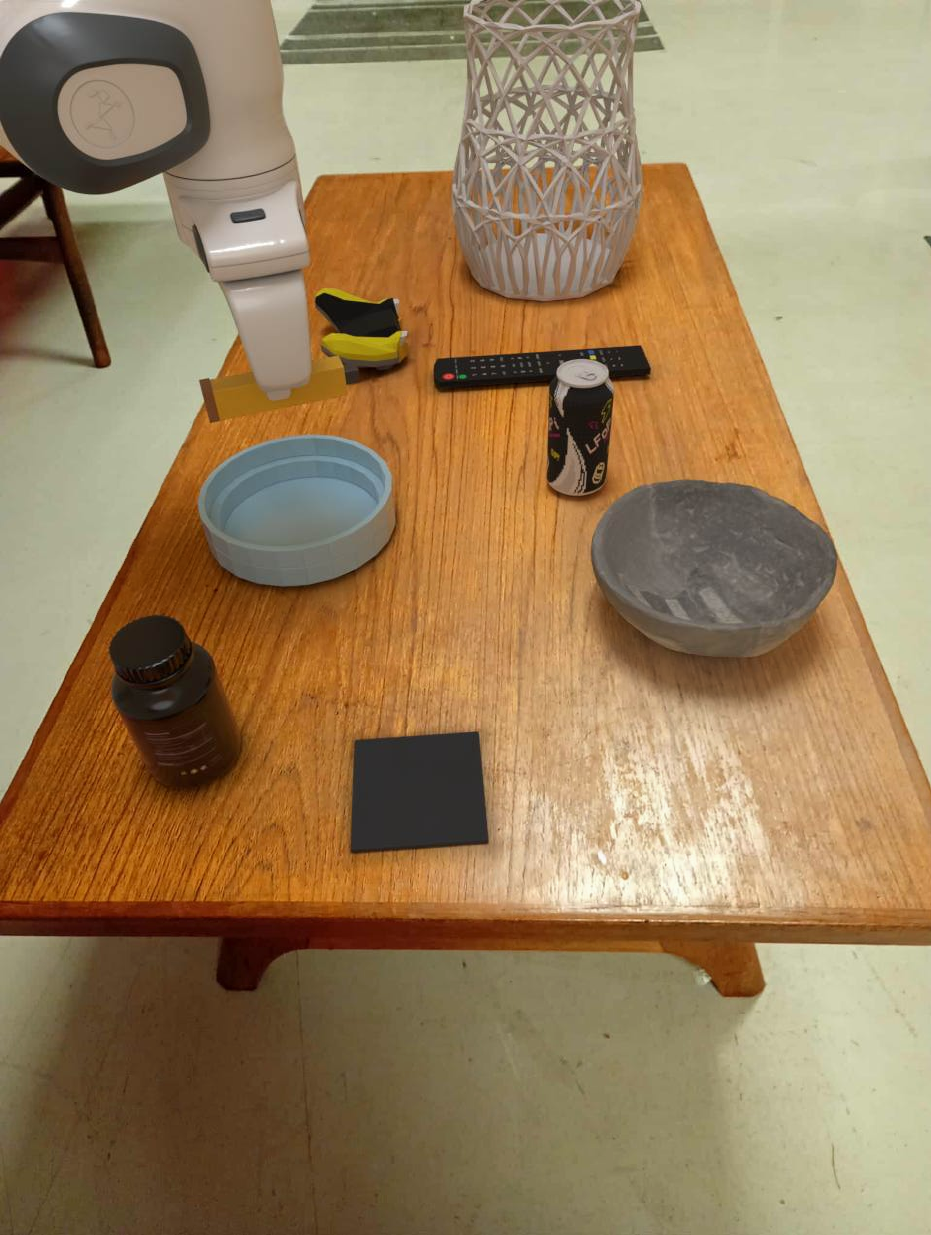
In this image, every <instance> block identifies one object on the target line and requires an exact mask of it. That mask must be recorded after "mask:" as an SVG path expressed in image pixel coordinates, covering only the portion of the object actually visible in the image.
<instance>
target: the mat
mask: <svg viewBox="0 0 931 1235" xmlns="http://www.w3.org/2000/svg"><path fill="white" fill-rule="evenodd" d="M353 747H354V748H353V768H352V769H353V770H352V795H351V796H352V798H351V799H352V800H351V826H350V854H357V853H358V854H359V853H371V852H383V851H384V852H385V851H399V850H412V849H427V848H441V847H454V846H466V845H467V846H468V845H481V844H482V845H483V844H489V834H488V822H487V810H486V809H487V808H486V799H485V798H486V797H485V788H484V777H483V766H482V755H481V754H482V753H481V743H480V732H479V731H477V730H476V731H464V732H463V731H462V732H449V733H435V734H433V733H432V734H421V735H420V734H419V735H406V736H404V735H403V736H393V737H392V736H391V737H380V738H379V737H377V738H364V739H354V744H353Z"/></svg>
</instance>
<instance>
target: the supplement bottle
mask: <svg viewBox="0 0 931 1235" xmlns="http://www.w3.org/2000/svg"><path fill="white" fill-rule="evenodd" d="M108 656H109V658H110V661H111V663H112V665H113V669H114V674H113V676H112V679H111V684H110V696H111V699H112V702H113V705H114V707H115V709H116V711H117V713H118V714H119V717H120V718H121V720H122V722H123V724H124V726H125V728H126V730H127V732H128V734H129V736H130V738H131V740H132V742H133V744H134V746H135V748H136V749H137V752H138V753H139V755H140V757H141V759H142V761H143V763H144V765H145V767H146V768H147V770H148V772H149V774H150V775H151V776H152V777H153V778H154V780H156V781H157V782H158V783H160V784H161V785H163V786H165V787H168V788H172V789H177V790H178V789H179V790H189V789H196V788H201V787H205V786H207V785H209V784H211V783H213V782H214V781H216V780H218V779H219V778H221V777H222V776H223V775H225V773H227V772H228V771H229V770H230V769H231V768H232V766H233V765H234V764H235V762H236V759H237V758H238V757H239V754H240V751H241V745H242V737H241V732H240V729H239V726H238V722H237V719H236V717H235V714H234V711H233V709H232V706H231V703H230V700H229V698H228V695H227V692H226V689H225V687H224V684H223V682H222V678H221V676H220V673H219V670H218V668H217V665H216V662H215V660H214V658H213V657H212V656H211V654H210V653H209V651H208V650H207V649H206V648H204V647H203V646H202V645H200V644H198V643H196V642H194V641H192V640H191V638H190V637H189V636H188V632H187V631H186V629H185V627H184V625H183V624H182V623H181V622H180V621H179V620H177V619H176V618H175V617H171V616H169V615H165V614H153V615H150V614H148V615H145V616H140V617H138V618H136V619H132V621H130V622H128V623H126V624H125V625H124V626H121V627H120V628H119V630H117V631H116V632H115V635H113V636H112V637H111V640H110V642H109V646H108Z"/></svg>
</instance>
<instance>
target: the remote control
mask: <svg viewBox="0 0 931 1235" xmlns="http://www.w3.org/2000/svg"><path fill="white" fill-rule="evenodd" d="M577 359H587V360H593V361H597V362H599V363H601V364H603V365H604V366H606V368H607V369H608V371H609V376H608V377H609V378H611V377H626V376H627V377H628V376H629V377H630V376H640V375H641V376H642V375H651V369H652V368H651V366H650V363H649V361H648V358H647V356H646V354H645V351H644V349H643V347H642V345H641V344H639V345H624V346H607V347H592V348H578V349H563V350H562V349H561V350H549V351H548V350H547V351H531V352H520V353H519V352H517V353H503V354H501V353H499V354H485V355H484V354H483V355H472V356H456V357H455V356H454V357H453V356H452V357H439V358H436V360H435V362H434V364H433V369H432V371H433V374H432V375H433V384H434V386H435V387H436V388H439V389H445V388H462V387H474V386H476V387H477V386H491V385H505V384H521V383H523V384H524V383H536V382H537V383H538V382H549V381H550V382H551V381H552V380H553V379H554V378H555V376H556V375H557V369H558V367H559V366H560V365H562V364H563V363H565V362H567V361H571V360H577Z"/></svg>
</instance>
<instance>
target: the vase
mask: <svg viewBox="0 0 931 1235" xmlns="http://www.w3.org/2000/svg"><path fill="white" fill-rule="evenodd" d="M541 1H542V2H544V3H548V4H549V5H548V6H547V7H546V8H544V10H542V11H541V12H540V13H539V14H538V15H537V16H536V17H535V18H533V19H532V18H531V17H530V15H528V14H527V13H526V12H525V11H523V9H522V8H521V7H520V6H522V5H523V4H524V3H526V2H528V0H515V1H514V2H512V1H510V0H471V1H470V3H468V4H465V5H463V16H462V18H463V25H464V36H465V37H464V38H465V45H466V46H465V47H466V90H465V100H464V109H463V118H462V125H461V132H460V140H459V144H458V147H457V152H456V157H455V162H454V166H453V174H452V184H451V207H452V215H453V221H454V222H453V223H454V230H455V233H456V235H457V238H458V242H459V246H460V248H461V251H462V254H463V257H464V258H465V261H466V264H467V267H468V268H469V270H470V275H471V276H472V277H473V278H474V280H475V281H476V282H477V283H478V285H479V286H480V287H481V288H483V289H486V290H488V291H490V292H492V293H495V294H497V295H500V296H502V297H504V298H507V299H515V300H516V299H517V300H526V301H536V302H552V301H561V300H570V299H579V298H584V297H585V296H587V295H588V296H589V295H590V294H592V293H594V292H597V291H598V290H600V289H602V288H605V287H607V286H609V285H612V283H613V281H614V280H615V277H616V275H617V273H618V271H619V269H620V267H621V266H622V265H623V263H624V261H625V258H626V255H627V253H628V251H629V249H630V246H631V243H632V241H633V239H634V236H635V234H636V232H637V228H638V222H639V217H640V211H641V206H642V201H643V165H642V158H641V153H640V150H639V143H638V142H639V141H638V136H637V132H636V131H637V118H636V114H635V112H636V109H635V107H634V48H635V47H634V46H635V42H636V41H635V40H636V36H637V31H638V27H639V22H640V15H641V14H640V13H641V10H642V3H641V2H640V1H638V0H624V2H627V3H628V4H627V5H626V6H625V7H624V5H623V4H622V2H621V0H612V2H613V3H614V4H615V5H616V7H617V8H619V9H620V12H618V14H617V15H616V16H614V17H613V18H608V19H606V18H605V15H604V14H603V12H602V10H601V8H600V6H602V5H604V4H606V3H608V2H610V1H611V0H594V1H593V0H582V1H583V2H585V3H587V4H588V5H587V7H586V8H585V9H583V11H581V13H580V14H579V15H577V17H575V18H574V19H573V18H572V17H571V16H570V14H569V13H568V12H567V11H566V10H565V9H564V7H563V6H562V3H564V2H566V0H541ZM496 3H497V4H500V5H502V6H504V7H506V8H508V9H507V10H506V11H505V13H504V14H503V15H502V17H501V19H500V20H499V22H498V21H493V19H492V18H491V17H490V16H489V15H488V14H487V12H488V11H489V10H491V8H492V7H493V6H494V5H495V4H496ZM482 4H485V5H484V7H483V9H481V8H480V7H479V5H482ZM553 9H554V10H555V11H557V12H558V13H559V15H560V16H561V17H562V18H563V19H564V20H565V21H566V22H567V23H568V25H566V24H562V23H559V24H558V23H557V24H540V23H541V22H542V21H543V20H544V19H545V18H546V16H548V15H549V14H550V13H551V12H552V10H553ZM632 9H633V10H632ZM630 10H631V11H630ZM592 11H593V12H594V14H595V15H596V16H597V18H598V19H599V20H594V21H586V22H581V21H582V20H583V19H584V18H585V17H586V16H587V15H588V14H590V13H591V12H592ZM473 12H474V13H475V14H477V15H478V16H475V15H473ZM514 12H516V13H517V14H518V15H519V16H520V18H522V19H523V20H524V22H526V24H527V25H528V26H522V25H520V24H516V23H511V22H509V23H508V20H509V19H510V18H511V17H512V16H513V14H514ZM623 23H624V24H623ZM594 28H595V29H597V28H600V29H599V30H598V31H597V32H596V33H595V34H594V35H593V34H591V33H590V32H589V31H586V30H587V29H594ZM613 28H616V29H618V30H620V31H621V32H620V34H618V37H617V38H616V40H615V38H614V34H613V30H612V29H613ZM502 30H505V31H510V32H508V33H506V34H504V33H503V31H502ZM483 31H488V32H489V34H490V35H491V38H490V40H489V44H488V47H487V50H486V48H485V47H484V44H483V43H482V42H481V40H480V38H479V34H480V33H482V32H483ZM544 32H545V33H546V32H549V33H550V32H551V33H553V32H554V33H555V34H554V35H551V36H550V37H548V38H547V37H545V36H544V35H543V33H544ZM557 32H558V33H557ZM571 33H572V34H575V37H576V38H577V40H578V41H579V44H580V46H581V47H580V48H578V49H577V51H576V52H575V53H574V54H573V55H572V56H571V57H569V56H568V55H567V54H565V52H563V51H562V49H561V47H562V45H563V44H564V43H565V42H566V39H567V38H568V37H569V35H571ZM522 35H523V37H522V38H521V39H520V40H521V41H520V42H519V43H518V46H517V48H515V46H514V45H513V44H512V43H511V42H510V41H511V40H513V39H515V38H517V37H519V36H522ZM529 37H531V38H534V39H536V40H538V41H540V44H539V45H538V46H537V47H536V48H535V49H534V50H532V52H531V53H530V54H528V55H527V56H526V57H525V58H524V57H523V56H522V54H520V53H521V51H522V49H523V48H524V46H525V44H526V42H527V40H528V39H529ZM606 37H608V41H609V44H610V50H609V49H608V48H607V47H606V46H605V45H604V44H603V42H604V41H605V39H606ZM624 38H625V40H624V43H623V46H622V49H621V52H620V54H619V51H618V48H619V47H620V45H621V43H622V41H623V39H624ZM555 42H557V43H556V44H555ZM592 45H593V47H592V48H591V50H590V47H591V46H592ZM502 47H504V49H505V50H506V52H507V54H508V55H509V58H510V61H509V62H508V65H507V68H506V70H505V72H504V75H503V78H502V80H501V79H500V77H499V75H498V72H497V70H496V67H495V65H494V63H493V60H492V58H493V57H495V55H497V53H498V52H499V51H500V50H501V49H502ZM599 50H600V51H601V52H602V53H603V55H605V59H604V60H603V62H602V63H601V66H600V67H599V69H598V68H597V64H596V62H595V56H596V54H597V53H598V51H599ZM544 51H546V52H547V54H548V55H549V56H548V58H547V59H546V62H545V64H544V66H543V68H542V70H541V72H540V74H539V76H538V78H537V77H536V75H535V74H534V72H533V71H532V69H531V67H530V66H529V64H530V63H531V62H532V61H534V59H536V58H537V57H538V56H539V55H540V54H541V53H543V52H544ZM583 54H586V56H587V58H586V60H585V63H584V65H583V68H582V69H581V72H579V71H578V69H577V67H576V65H575V64H574V62H575V61H576V60H577V59H578V58H580V57H581V55H583ZM475 55H476V56H477V58H478V61H479V63H480V70H479V71H478V72H479V73H478V72H477V67H476V60H475V57H476V56H475ZM556 56H557V57H558V58H559V59H560V60H561V61H562V62H563V63H564V66H563V67H562V68H561V65H560V63H559V61H558V59H557V57H556ZM613 58H614V61H613ZM614 62H615V63H614ZM552 63H553V66H554V68H555V70H556V73H557V76H556V78H555V80H554V81H553V83H552V84H543V81H544V79H545V77H546V75H547V73H548V71H549V69H550V67H551V64H552ZM590 66H591V69H592V73H593V75H594V79H593V81H592V83H591V85H590V87H589V86H588V85H587V83H586V80H584V78H585V77H586V75H587V74H586V73H587V72H588V69H589V67H590ZM608 66H609V69H610V71H611V74H612V79H611V80H612V81H611V84H610V87H609V90H608V91H605V89H604V86H603V84H602V80H601V79H602V78H603V76H604V74H605V72H606V70H607V69H608ZM513 67H514V69H515V72H514V74H513V75H512V77H511V79H510V80H509V82H508V78H509V76H510V74H511V72H512V69H513ZM488 68H489V70H488ZM489 71H490V73H491V75H492V78H493V80H494V82H495V85H496V87H497V92H495V93H494V91H493V86H492V83H491V79H490V75H489ZM524 71H525V72H526V73H527V75H528V77H529V78H530V79H531V81H532V83H533V85H534V86H532V87H529V85H528V83H527V80H526V78H525V76H524ZM569 71H570V72H571V74H572V76H573V78H574V79H575V81H576V83H575V85H574V86H571V85H570V86H569V84H568V81H567V79H566V77H565V76H566V75H567V73H568V72H569ZM626 75H627V83H626V80H625V78H626ZM483 79H484V81H485V85H486V89H487V94H484V95H482V96H481V90H480V89H481V86H482V82H483ZM518 81H520V84H521V86H516V87H515V85H516V83H517V82H518ZM507 82H508V83H507ZM506 84H507V85H506ZM615 89H616V91H615ZM510 95H512V96H510ZM537 95H539V96H541V98H540V100H538V101H537V102H535V101H536V98H537ZM565 95H566V98H567V102H565V101H564V100H562V99H561V98H559V97H560V96H565ZM524 96H525V100H526V104H525V103H524V102H522V101H520V98H522V97H524ZM578 96H579V97H581V98H583V99H582V100H581V101H578V102H577V98H578ZM601 99H602V100H603V105H604V106H603V105H602V104H601V103H600V102H599V101H598V100H601ZM551 100H553V101H554V102H555V103H557V104H558V105H559V106H560V107H562V108H564V109H565V110H566V113H565V114H564V115H563V117H562V118H561V119H560V121H559V120H558V118H557V115H556V113H555V110H554V107H553V105H552V102H551ZM576 102H577V103H576ZM511 104H513V105H514V106H516V107H518V108H520V109H521V110H522V111H525V112H524V114H523V115H522V117H521V118H520V119H519V121H518V122H517V123H516V120H515V117H514V114H513V111H512V107H511ZM612 104H613V105H612ZM488 105H489V108H490V110H488V109H487V108H486V107H487V106H488ZM589 105H590V108H591V110H592V112H593V114H594V117H595V119H596V121H597V124H598V127H597V128H596V129H590V130H589V128H588V126H587V125H586V123H585V122H584V118H585V115H586V112H587V109H588V107H589ZM611 108H612V109H611ZM579 109H580V111H579V112H578V110H579ZM503 110H505V111H506V115H507V118H508V122H509V125H510V128H511V131H507V130H505V129H504V128H503V126H502V125H501V123H500V122H499V120H498V117H499V115H500V113H501V112H502V111H503ZM536 110H537V111H536ZM545 110H546V111H547V113H548V115H549V117H550V120H551V122H552V124H553V126H554V128H553V129H552V130H551V131H550V130H549V128H548V127H547V126H546V124H545V123H544V122H543V120H542V117H543V114H544V112H545ZM598 110H599V111H600V113H602V114H603V115H604V117H603V119H602V118H601V115H600V113H599V111H598ZM619 112H620V114H621V115H622V117H623V118H621V119H620V120H618V121H616V119H617V115H618V113H619ZM484 116H485V117H487V120H486V122H485V123H484ZM531 116H532V121H531V123H530V125H529V127H528V129H527V131H526V133H525V134H524V130H525V127H526V124H527V121H528V119H529V117H531ZM572 116H573V118H574V121H575V126H574V128H573V131H572V134H567V133H568V132H567V131H568V129H569V128H568V127H569V124H570V120H571V117H572ZM477 119H478V122H477V121H476V120H477ZM620 127H622V128H621V129H619V128H620ZM473 128H474V129H475V130H474V129H473ZM540 128H541V130H542V131H543V134H542V133H541V132H540V131H541V130H540ZM499 137H500V138H501V137H502V139H503V140H500V138H499ZM585 138H587V139H585ZM600 139H601V140H600ZM489 140H491V141H493V142H494V144H493V145H491V146H490V147H488V148H487V145H488V143H489ZM542 141H545V142H544V144H543V142H542ZM598 141H600V145H598V144H597V142H598ZM613 142H614V143H613ZM575 144H577V145H581V147H580V148H579V149H578V150H574V146H575ZM512 145H514V147H513V146H512ZM529 146H532V147H535V148H536V149H531V150H527V149H528V148H529ZM592 150H593V151H592ZM494 152H495V154H494V155H492V154H493V153H494ZM490 155H491V156H490ZM487 156H488V157H487ZM486 157H487V158H486ZM535 158H538V159H537V160H536V162H535V163H534V164H533V165H532V166H531V167H530V168H528V167H527V165H526V164H528V163H529V162H532V160H534V159H535ZM579 159H582V163H581V165H580V166H578V167H577V168H576V166H575V165H574V164H575V163H576V162H577V161H578V160H579ZM548 162H551V163H554V165H553V172H552V178H551V183H550V184H549V185H547V174H546V173H547V172H546V164H545V163H548ZM489 164H495V165H494V167H493V169H492V171H491V169H490V167H489ZM506 165H507V166H510V170H509V172H507V174H506V176H504V173H503V168H504V167H505V166H506ZM591 165H594V166H595V167H597V170H596V174H595V178H594V182H593V186H592V189H591V187H590V166H591ZM610 169H611V172H612V175H613V177H612V178H611V177H610V176H609V172H610ZM480 171H481V172H480ZM534 172H535V173H534ZM533 173H534V176H533V175H532V174H533ZM540 174H541V181H542V182H541V183H542V190H541V188H540V187H539V185H538V183H539V178H540ZM566 174H567V178H566ZM565 178H566V179H565ZM571 182H572V186H573V191H574V194H573V198H572V205H571V210H570V214H568V215H567V214H565V211H566V191H567V189H568V187H569V186H570V183H571ZM498 183H499V185H498ZM515 184H516V187H517V188H516V189H517V209H518V210H517V211H518V213H516V212H515V213H514V208H513V202H514V201H513V200H514V186H515ZM613 184H614V185H613ZM506 186H507V188H506ZM581 187H583V189H584V200H583V196H582V191H581ZM599 188H600V198H599V200H598V199H597V194H598V189H599ZM472 191H473V193H472ZM488 192H489V193H490V194H491V195H492V196H491V197H492V198H491V199H490V202H488V201H489V200H488ZM524 193H525V194H524ZM472 194H473V195H472ZM608 194H609V200H610V203H609V205H606V197H607V195H608ZM499 195H501V200H502V205H501V202H500V199H499ZM479 199H480V202H481V205H480V204H479ZM538 199H539V202H538ZM616 199H617V202H616ZM525 202H526V203H525ZM526 207H527V211H526ZM542 211H543V213H541V212H542ZM470 213H471V214H470ZM557 213H558V214H557ZM471 216H472V217H471ZM604 217H605V218H604ZM515 219H517V220H520V221H519V222H520V226H521V232H522V233H521V234H519V235H515V224H514V223H515V222H514V220H515ZM505 221H506V223H505ZM567 221H569V222H568V228H567V229H566V230H565V222H567ZM576 221H580V223H579V226H578V227H577V228H575V230H574V231H573V229H574V224H575V223H576ZM493 224H494V225H495V228H496V233H497V234H496V235H497V236H495V234H494V231H493V226H492V225H493ZM528 224H529V225H528ZM556 224H558V229H557V227H556ZM591 224H593V230H592V234H591V237H590V238H588V237H587V236H588V233H587V231H588V230H587V229H588V226H590V225H591ZM506 225H507V226H506ZM610 225H611V226H610ZM542 229H543V230H544V232H543V233H542V232H537V231H540V230H542ZM572 231H573V232H572ZM607 232H608V234H607ZM606 234H607V235H606ZM486 242H487V243H486Z"/></svg>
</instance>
